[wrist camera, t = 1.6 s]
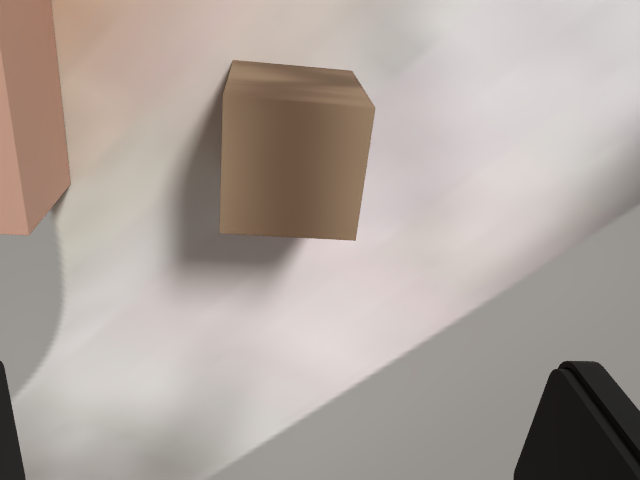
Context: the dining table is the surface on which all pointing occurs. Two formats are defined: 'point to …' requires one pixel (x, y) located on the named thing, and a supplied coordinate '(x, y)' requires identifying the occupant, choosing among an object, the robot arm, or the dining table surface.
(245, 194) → the walnut block
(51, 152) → the base block
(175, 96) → the dining table surface
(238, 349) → the dining table surface
